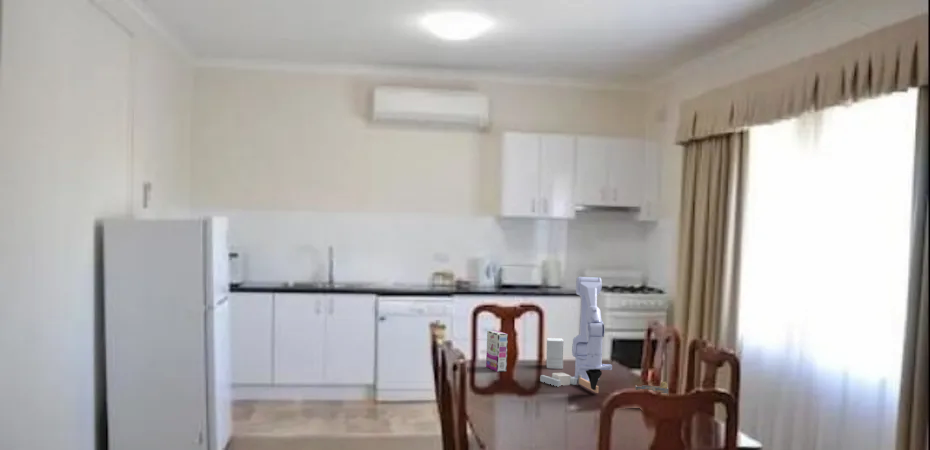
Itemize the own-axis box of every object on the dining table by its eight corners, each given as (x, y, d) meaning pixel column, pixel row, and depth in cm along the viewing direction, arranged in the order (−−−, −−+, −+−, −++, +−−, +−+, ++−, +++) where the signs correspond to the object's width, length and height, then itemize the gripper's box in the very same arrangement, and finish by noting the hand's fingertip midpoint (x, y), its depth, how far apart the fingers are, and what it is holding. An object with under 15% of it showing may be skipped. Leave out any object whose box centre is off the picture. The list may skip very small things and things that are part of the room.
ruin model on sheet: (666, 407, 271) (667, 381, 271) (667, 410, 268) (668, 382, 268) (634, 405, 273) (635, 379, 273) (635, 407, 270) (636, 380, 270)
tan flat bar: (577, 384, 302) (577, 375, 301) (580, 384, 302) (580, 374, 302) (595, 394, 285) (595, 384, 285) (598, 393, 286) (599, 384, 286)
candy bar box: (507, 371, 323) (508, 333, 323) (497, 372, 321) (498, 334, 321) (495, 366, 333) (496, 329, 333) (485, 367, 331) (486, 330, 331)
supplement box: (562, 365, 339) (563, 338, 339) (562, 369, 332) (563, 340, 332) (546, 365, 340) (546, 337, 340) (546, 368, 333) (547, 340, 332)
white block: (562, 382, 307) (563, 372, 307) (569, 385, 301) (570, 375, 301) (551, 382, 305) (552, 373, 305) (558, 386, 299) (559, 376, 299)
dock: (559, 378, 312) (559, 373, 312) (576, 384, 302) (576, 378, 302) (540, 381, 306) (540, 375, 306) (557, 386, 297) (557, 380, 297)
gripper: (581, 356, 280) (580, 392, 280) (616, 355, 284) (615, 390, 285) (573, 352, 287) (572, 388, 287) (607, 351, 291) (606, 386, 291)
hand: (593, 389), depth 286 cm, fingers closed
